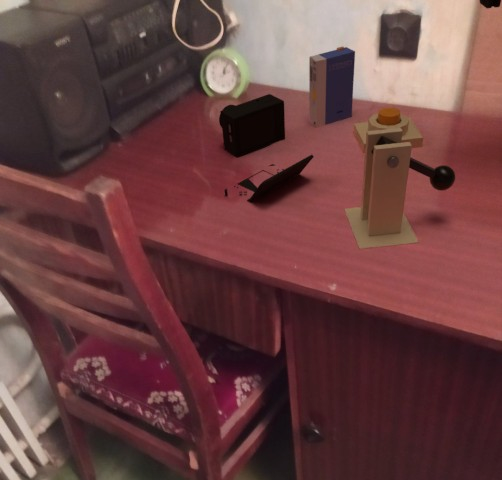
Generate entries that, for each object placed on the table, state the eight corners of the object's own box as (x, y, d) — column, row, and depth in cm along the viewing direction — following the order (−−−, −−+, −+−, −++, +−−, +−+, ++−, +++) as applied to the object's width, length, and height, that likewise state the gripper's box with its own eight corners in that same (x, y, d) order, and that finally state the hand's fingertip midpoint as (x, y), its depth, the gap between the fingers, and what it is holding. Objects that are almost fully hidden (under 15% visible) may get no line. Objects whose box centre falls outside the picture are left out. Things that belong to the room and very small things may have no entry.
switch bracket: (398, 209, 85) (409, 117, 76) (418, 249, 78) (433, 153, 69) (343, 215, 85) (348, 124, 76) (358, 255, 78) (365, 160, 69)
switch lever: (440, 186, 79) (455, 166, 78) (447, 198, 77) (463, 178, 75) (368, 152, 75) (382, 130, 73) (374, 164, 73) (389, 142, 71)
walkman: (343, 112, 110) (346, 44, 102) (351, 117, 109) (355, 49, 100) (307, 122, 108) (307, 54, 100) (315, 128, 106) (316, 59, 98)
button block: (408, 126, 104) (411, 107, 102) (422, 147, 99) (425, 127, 96) (353, 132, 104) (354, 113, 102) (363, 153, 98) (364, 133, 96)
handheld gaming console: (261, 156, 96) (286, 121, 87) (292, 187, 97) (320, 155, 88) (218, 196, 91) (240, 163, 82) (251, 229, 92) (277, 199, 83)
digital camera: (267, 129, 107) (266, 90, 103) (285, 139, 104) (284, 100, 99) (220, 147, 104) (216, 108, 99) (237, 157, 100) (233, 118, 95)
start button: (396, 116, 100) (397, 106, 99) (401, 125, 98) (403, 115, 97) (375, 118, 100) (376, 108, 99) (380, 127, 98) (381, 117, 97)
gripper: (464, -167, 62) (441, 20, 75) (604, -185, 62) (558, 6, 75) (442, -171, 68) (425, 4, 81) (571, -188, 68) (533, -10, 80)
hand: (489, 4), depth 78 cm, fingers closed
